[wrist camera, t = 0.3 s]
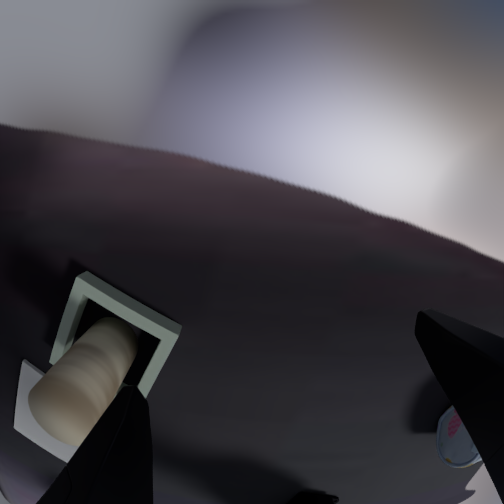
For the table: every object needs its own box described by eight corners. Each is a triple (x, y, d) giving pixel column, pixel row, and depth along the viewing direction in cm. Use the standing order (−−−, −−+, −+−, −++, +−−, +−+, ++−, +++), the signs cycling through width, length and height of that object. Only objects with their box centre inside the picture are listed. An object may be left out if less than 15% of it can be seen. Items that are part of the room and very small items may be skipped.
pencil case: (521, 389, 31) (557, 414, 22) (494, 434, 32) (525, 462, 23) (454, 383, 28) (501, 423, 19) (418, 440, 29) (454, 486, 20)
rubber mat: (99, 476, 26) (98, 479, 26) (15, 425, 24) (13, 427, 24) (125, 421, 25) (124, 424, 25) (24, 358, 23) (22, 361, 23)
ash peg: (128, 373, 24) (86, 456, 14) (84, 347, 24) (24, 418, 13) (146, 334, 24) (103, 414, 13) (99, 307, 23) (33, 369, 12)
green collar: (142, 401, 25) (137, 413, 23) (58, 352, 24) (49, 362, 22) (182, 325, 24) (178, 335, 22) (87, 270, 23) (76, 276, 21)
